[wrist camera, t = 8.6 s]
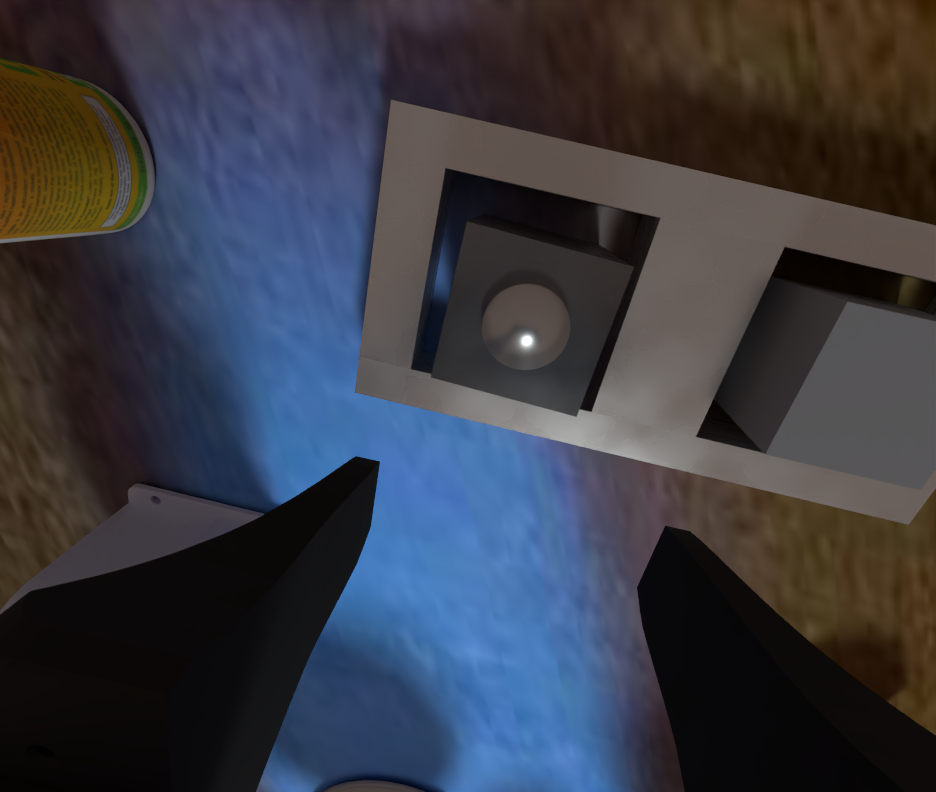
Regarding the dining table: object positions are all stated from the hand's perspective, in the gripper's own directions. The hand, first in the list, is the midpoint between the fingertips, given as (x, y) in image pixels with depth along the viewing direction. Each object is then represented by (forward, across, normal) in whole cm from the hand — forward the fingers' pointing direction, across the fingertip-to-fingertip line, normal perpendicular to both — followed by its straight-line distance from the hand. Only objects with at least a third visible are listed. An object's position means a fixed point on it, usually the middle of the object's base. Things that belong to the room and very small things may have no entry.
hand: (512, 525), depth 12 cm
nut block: (+9, +1, -4) cm, 10 cm away
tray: (+9, -5, -4) cm, 11 cm away
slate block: (+9, -10, -4) cm, 15 cm away
